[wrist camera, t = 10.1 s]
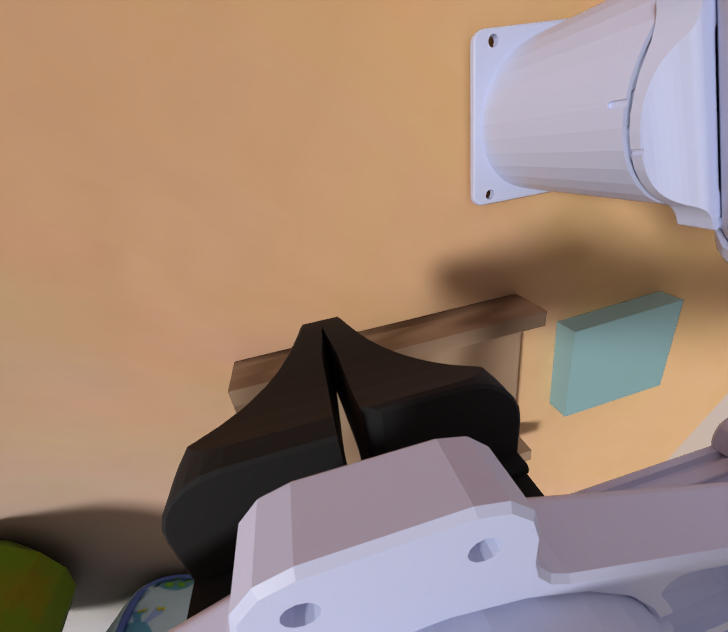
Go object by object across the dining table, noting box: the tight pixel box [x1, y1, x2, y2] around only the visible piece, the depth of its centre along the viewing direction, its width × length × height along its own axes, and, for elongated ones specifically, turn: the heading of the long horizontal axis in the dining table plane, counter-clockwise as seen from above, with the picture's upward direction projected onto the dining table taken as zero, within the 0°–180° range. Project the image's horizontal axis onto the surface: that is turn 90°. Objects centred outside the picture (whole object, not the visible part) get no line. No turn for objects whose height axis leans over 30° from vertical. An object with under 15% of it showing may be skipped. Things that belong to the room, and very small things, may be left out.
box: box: [228, 294, 547, 465], centre depth 23 cm, size 19×13×3 cm
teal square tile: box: [550, 291, 684, 416], centre depth 27 cm, size 9×8×2 cm
